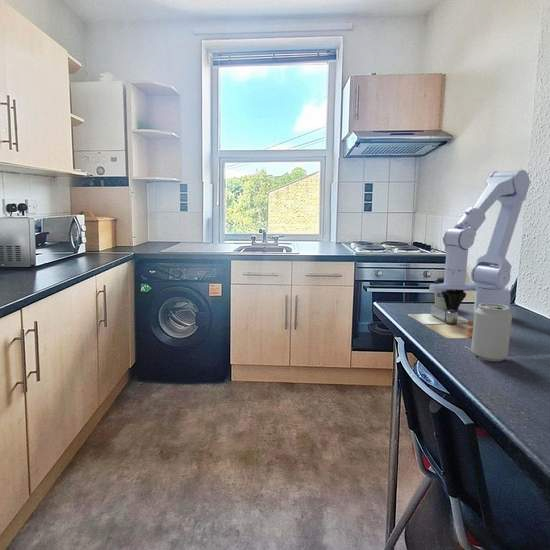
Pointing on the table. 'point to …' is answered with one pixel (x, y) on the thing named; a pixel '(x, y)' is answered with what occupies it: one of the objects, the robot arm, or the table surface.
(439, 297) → the coffee cup
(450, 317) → the latch
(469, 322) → the board
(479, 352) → the can
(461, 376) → the table surface
